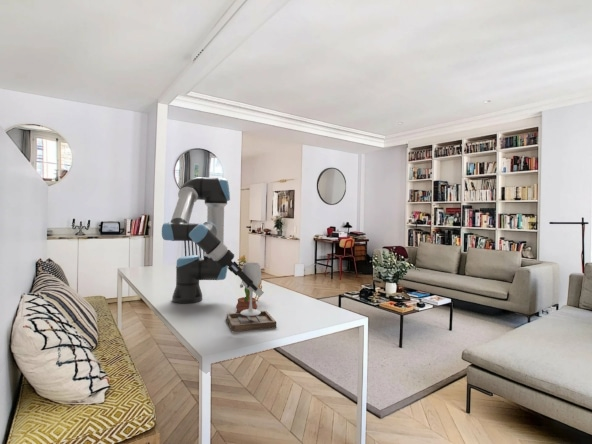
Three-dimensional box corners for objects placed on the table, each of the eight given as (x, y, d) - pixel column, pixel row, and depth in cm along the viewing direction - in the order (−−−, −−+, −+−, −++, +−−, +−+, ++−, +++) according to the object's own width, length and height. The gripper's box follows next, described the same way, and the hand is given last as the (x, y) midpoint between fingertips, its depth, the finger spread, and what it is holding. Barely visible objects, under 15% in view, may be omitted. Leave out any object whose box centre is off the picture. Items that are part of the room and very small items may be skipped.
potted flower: (235, 315, 153) (236, 261, 152) (229, 309, 162) (230, 258, 161) (260, 312, 158) (261, 260, 158) (252, 307, 167) (254, 257, 167)
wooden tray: (226, 319, 147) (226, 313, 147) (266, 316, 153) (266, 310, 153) (232, 331, 132) (232, 325, 132) (276, 327, 138) (276, 321, 138)
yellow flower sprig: (239, 305, 171) (240, 255, 170) (234, 303, 174) (235, 255, 173) (264, 299, 182) (265, 253, 182) (259, 298, 186) (260, 252, 185)
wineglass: (257, 316, 137) (258, 265, 137) (237, 315, 139) (238, 264, 139) (263, 311, 146) (264, 262, 146) (244, 309, 148) (245, 261, 147)
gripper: (212, 258, 147) (247, 293, 152) (217, 265, 127) (258, 305, 133) (224, 246, 148) (259, 281, 154) (232, 251, 129) (271, 291, 135)
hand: (259, 292), depth 143 cm, fingers closed on wineglass, 8 cm apart
